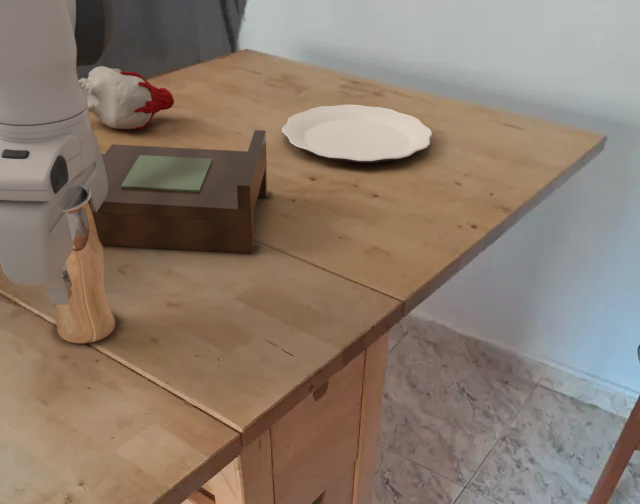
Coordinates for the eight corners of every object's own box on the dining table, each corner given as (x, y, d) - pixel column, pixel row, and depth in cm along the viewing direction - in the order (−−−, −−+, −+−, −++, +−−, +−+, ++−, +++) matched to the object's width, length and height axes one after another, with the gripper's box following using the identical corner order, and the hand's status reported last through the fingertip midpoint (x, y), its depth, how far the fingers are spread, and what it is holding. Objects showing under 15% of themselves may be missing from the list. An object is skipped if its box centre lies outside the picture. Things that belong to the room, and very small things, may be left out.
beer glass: (132, 319, 76) (108, 189, 66) (92, 353, 72) (59, 219, 61) (82, 303, 78) (51, 175, 68) (39, 335, 74) (-1, 202, 63)
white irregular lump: (75, 119, 118) (156, 116, 126) (99, 140, 112) (184, 135, 119) (70, 61, 113) (155, 62, 120) (95, 80, 106) (184, 79, 114)
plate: (308, 178, 105) (309, 166, 104) (266, 121, 122) (266, 110, 121) (455, 162, 111) (457, 151, 110) (395, 110, 129) (396, 100, 127)
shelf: (82, 244, 88) (66, 176, 82) (118, 185, 101) (107, 122, 95) (252, 253, 88) (250, 185, 82) (267, 193, 101) (265, 130, 95)
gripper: (47, 100, 69) (76, 228, 78) (-41, 187, 54) (8, 332, 63) (109, 103, 69) (131, 231, 78) (39, 191, 54) (76, 336, 63)
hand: (75, 277), depth 71 cm, fingers open, 7 cm apart
